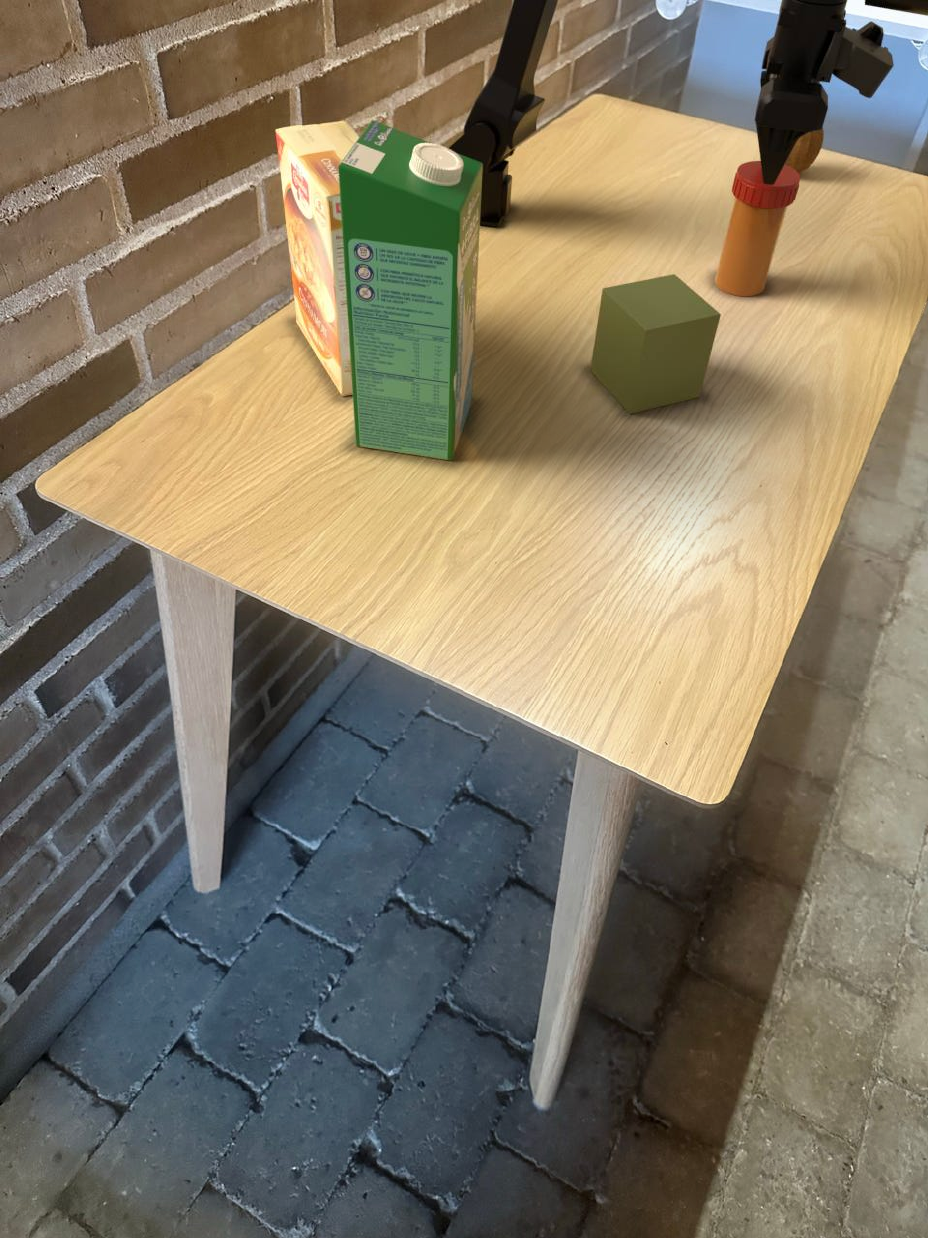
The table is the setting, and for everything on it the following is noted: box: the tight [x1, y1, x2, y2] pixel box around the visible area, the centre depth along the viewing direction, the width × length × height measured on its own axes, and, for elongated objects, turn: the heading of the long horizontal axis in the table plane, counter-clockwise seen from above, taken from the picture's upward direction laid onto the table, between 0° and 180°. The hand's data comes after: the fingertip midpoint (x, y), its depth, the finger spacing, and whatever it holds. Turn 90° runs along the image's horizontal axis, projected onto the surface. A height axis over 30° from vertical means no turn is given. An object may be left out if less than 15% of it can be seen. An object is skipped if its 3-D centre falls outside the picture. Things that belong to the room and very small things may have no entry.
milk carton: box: [338, 119, 483, 462], centre depth 79 cm, size 9×9×25 cm
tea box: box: [589, 273, 722, 415], centre depth 90 cm, size 8×8×9 cm
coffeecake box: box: [275, 120, 360, 397], centre depth 89 cm, size 15×7×20 cm, turn 24°
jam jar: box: [714, 197, 788, 297], centre depth 104 cm, size 6×6×12 cm
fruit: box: [784, 126, 825, 174], centre depth 127 cm, size 6×6×8 cm
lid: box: [731, 160, 801, 209], centre depth 100 cm, size 7×7×2 cm
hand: (769, 168), depth 98 cm, fingers open, 7 cm apart
